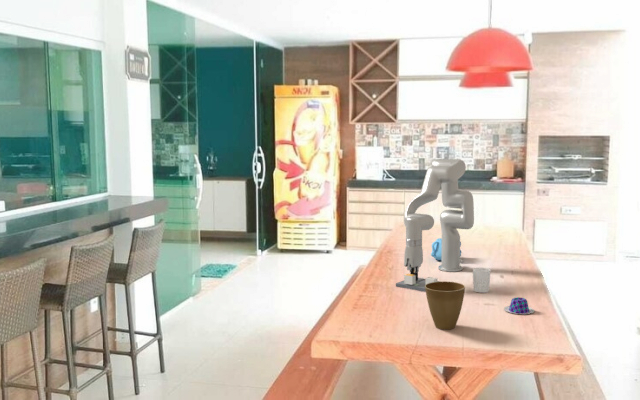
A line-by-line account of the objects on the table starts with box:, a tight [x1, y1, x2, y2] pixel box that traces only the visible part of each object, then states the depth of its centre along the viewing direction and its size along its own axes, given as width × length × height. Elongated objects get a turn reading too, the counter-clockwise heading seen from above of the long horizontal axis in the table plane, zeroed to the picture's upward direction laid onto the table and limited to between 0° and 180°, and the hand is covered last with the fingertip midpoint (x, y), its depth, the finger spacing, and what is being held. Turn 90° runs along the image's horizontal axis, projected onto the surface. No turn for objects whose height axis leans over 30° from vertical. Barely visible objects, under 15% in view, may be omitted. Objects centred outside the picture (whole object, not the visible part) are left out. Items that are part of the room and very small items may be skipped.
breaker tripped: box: [403, 273, 416, 285], centre depth 298 cm, size 3×4×4 cm
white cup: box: [472, 267, 492, 294], centre depth 291 cm, size 8×8×10 cm
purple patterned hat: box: [503, 296, 535, 315], centre depth 260 cm, size 12×12×5 cm
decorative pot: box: [430, 237, 462, 261], centre depth 357 cm, size 16×16×14 cm
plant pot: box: [425, 280, 466, 331], centre depth 240 cm, size 15×15×16 cm
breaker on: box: [425, 276, 438, 284], centre depth 292 cm, size 3×4×4 cm
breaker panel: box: [395, 277, 441, 293], centre depth 299 cm, size 16×24×2 cm, turn 50°
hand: (414, 280), depth 301 cm, fingers closed
